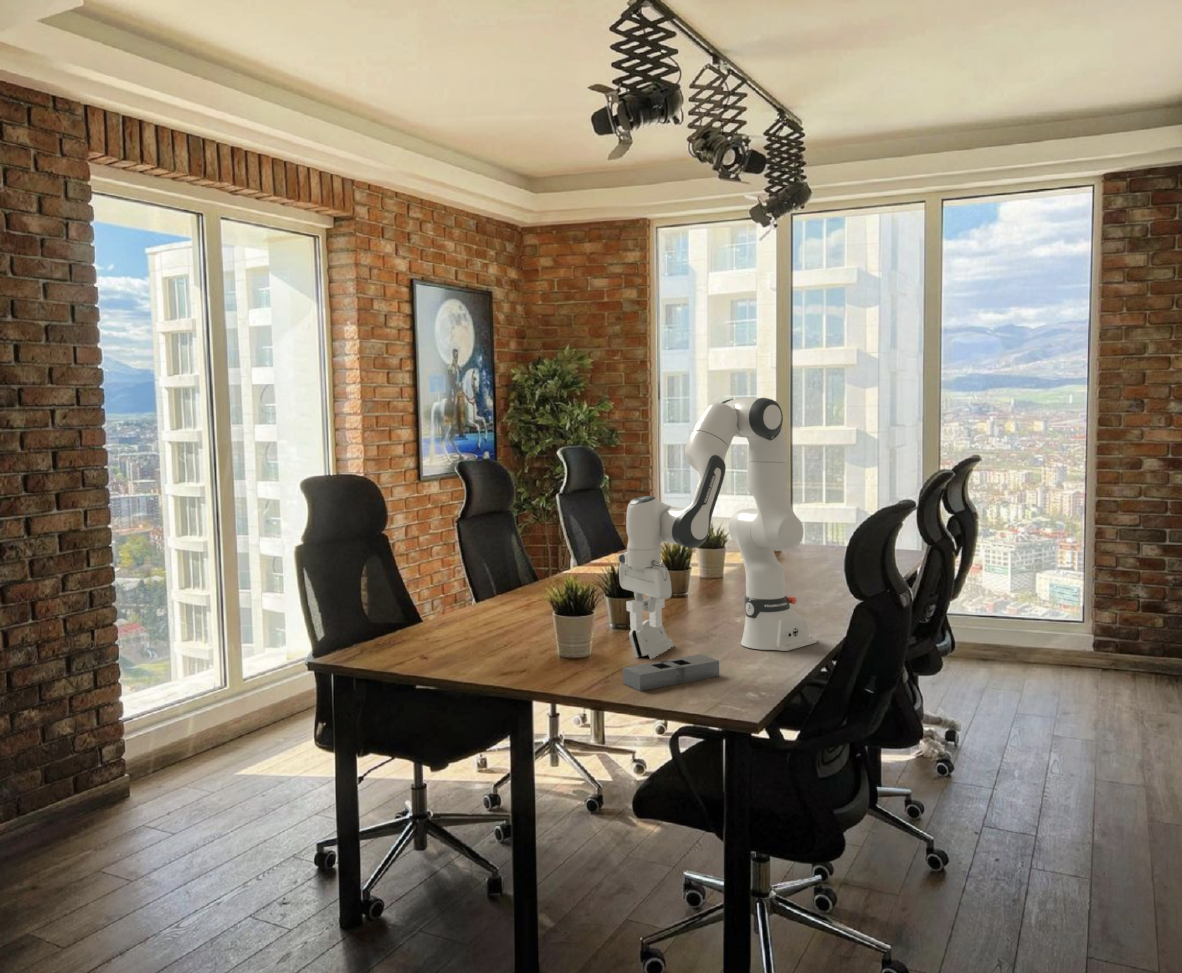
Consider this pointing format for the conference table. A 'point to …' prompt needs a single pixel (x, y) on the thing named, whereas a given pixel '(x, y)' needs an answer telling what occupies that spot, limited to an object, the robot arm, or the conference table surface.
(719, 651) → the conference table surface
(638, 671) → the rail
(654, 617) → the clip
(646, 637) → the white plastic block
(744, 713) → the conference table surface
